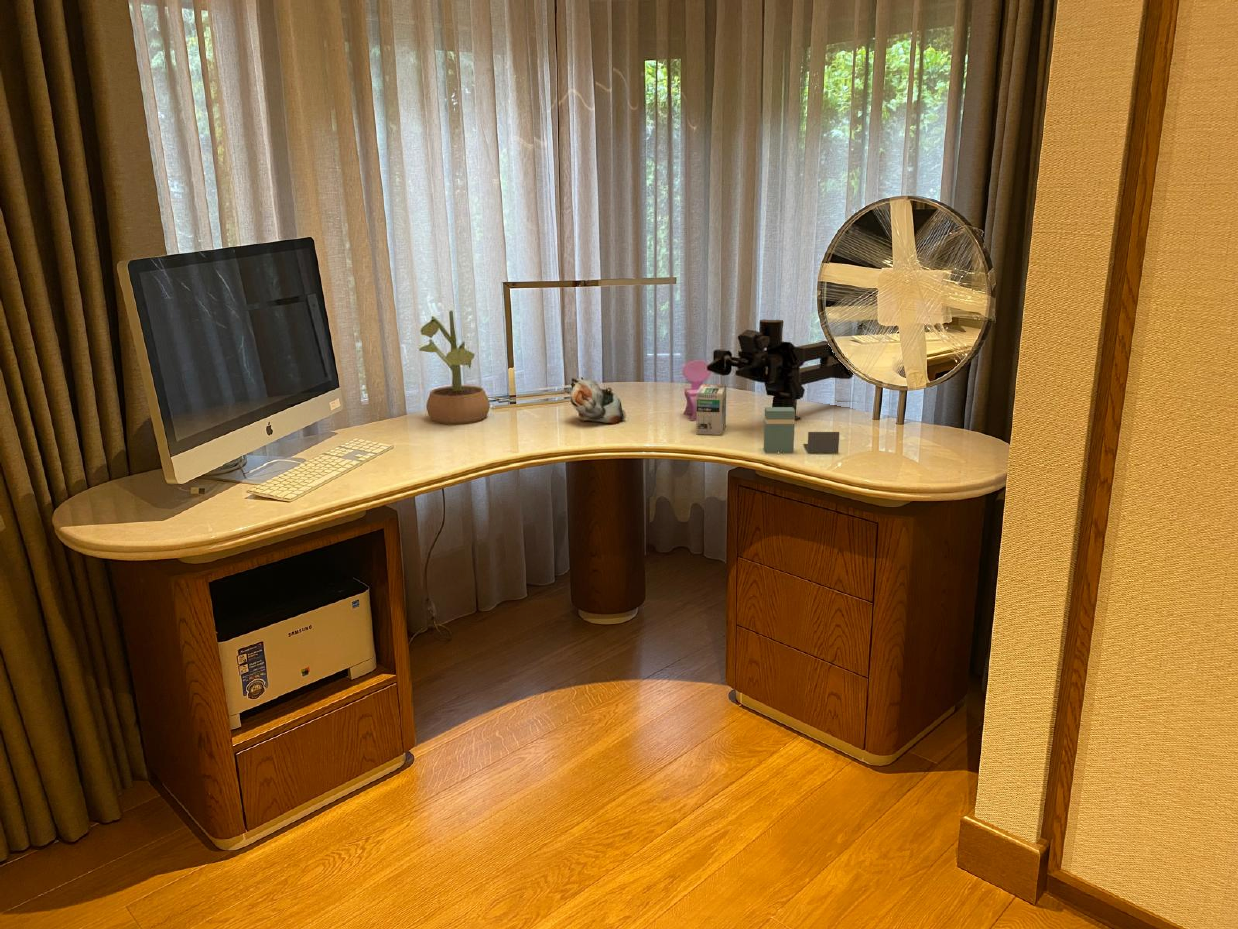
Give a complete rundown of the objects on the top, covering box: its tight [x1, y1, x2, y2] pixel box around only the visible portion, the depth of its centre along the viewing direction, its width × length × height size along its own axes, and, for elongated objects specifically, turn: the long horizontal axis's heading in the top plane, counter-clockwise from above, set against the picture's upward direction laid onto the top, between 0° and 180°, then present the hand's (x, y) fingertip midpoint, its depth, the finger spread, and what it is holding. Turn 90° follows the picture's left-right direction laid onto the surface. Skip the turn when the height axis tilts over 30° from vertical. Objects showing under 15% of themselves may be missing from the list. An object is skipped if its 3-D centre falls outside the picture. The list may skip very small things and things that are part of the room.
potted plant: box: [418, 309, 491, 425], centre depth 244 cm, size 22×18×30 cm
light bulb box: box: [695, 384, 727, 436], centre depth 234 cm, size 11×7×11 cm, turn 168°
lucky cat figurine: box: [570, 376, 627, 425], centre depth 244 cm, size 15×12×14 cm
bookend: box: [802, 431, 840, 455], centre depth 216 cm, size 7×7×5 cm
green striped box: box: [762, 406, 796, 454], centre depth 214 cm, size 4×6×10 cm, turn 87°
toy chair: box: [681, 359, 713, 422], centre depth 247 cm, size 8×9×15 cm
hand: (721, 370), depth 224 cm, fingers open, 9 cm apart
